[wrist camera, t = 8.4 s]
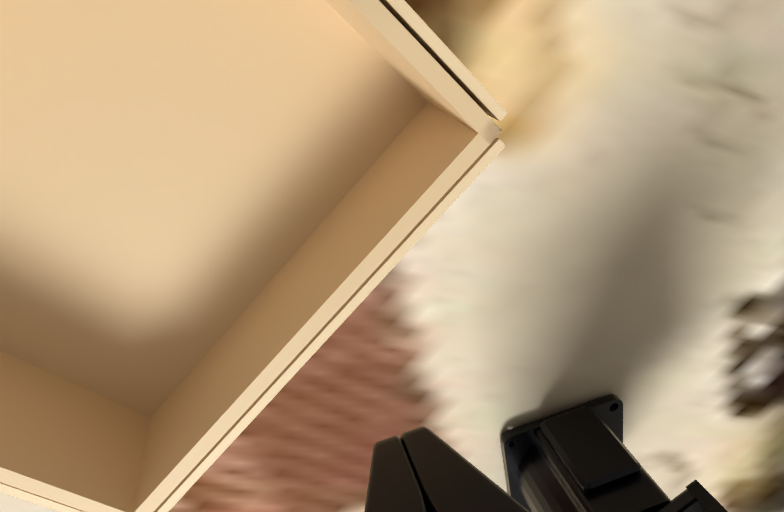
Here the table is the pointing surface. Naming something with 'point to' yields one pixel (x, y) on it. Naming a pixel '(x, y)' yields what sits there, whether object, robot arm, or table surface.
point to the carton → (201, 218)
